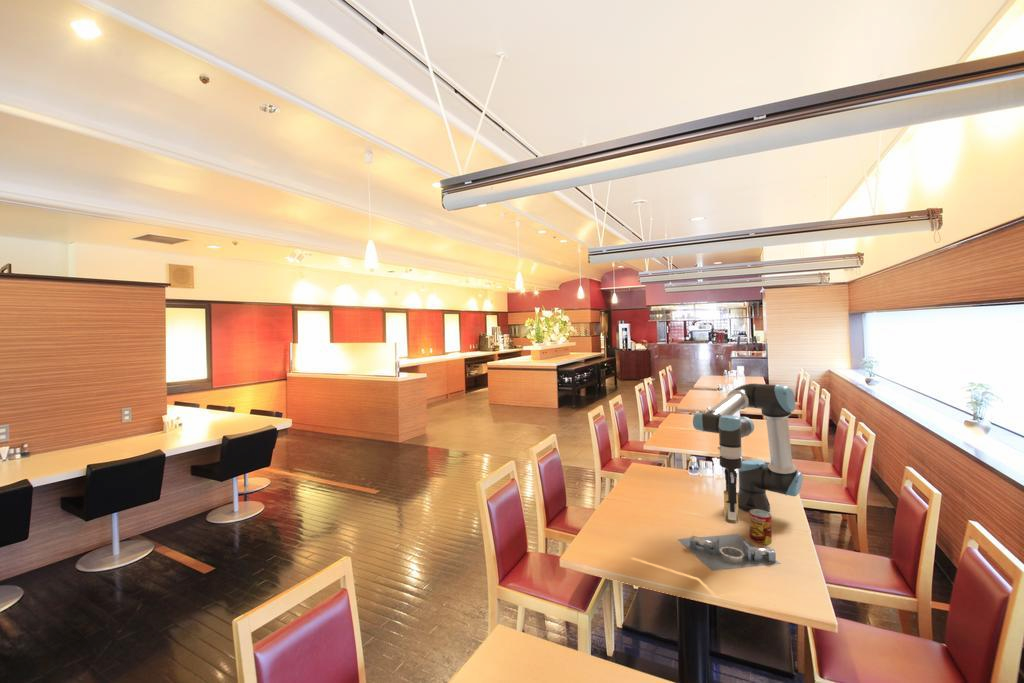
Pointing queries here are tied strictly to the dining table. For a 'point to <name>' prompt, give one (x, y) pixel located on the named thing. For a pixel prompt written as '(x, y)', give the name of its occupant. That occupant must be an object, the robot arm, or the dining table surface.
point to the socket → (730, 558)
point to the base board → (717, 561)
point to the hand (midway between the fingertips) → (731, 516)
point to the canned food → (760, 526)
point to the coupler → (727, 508)
